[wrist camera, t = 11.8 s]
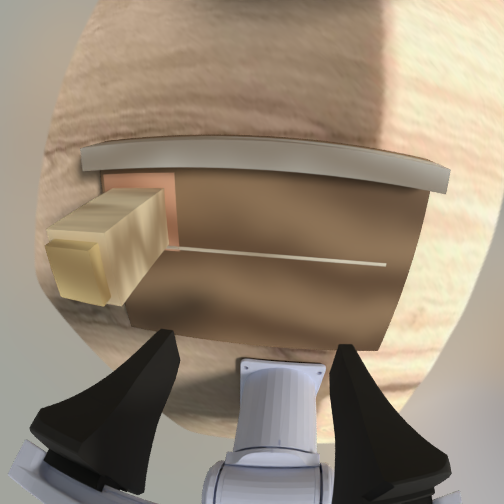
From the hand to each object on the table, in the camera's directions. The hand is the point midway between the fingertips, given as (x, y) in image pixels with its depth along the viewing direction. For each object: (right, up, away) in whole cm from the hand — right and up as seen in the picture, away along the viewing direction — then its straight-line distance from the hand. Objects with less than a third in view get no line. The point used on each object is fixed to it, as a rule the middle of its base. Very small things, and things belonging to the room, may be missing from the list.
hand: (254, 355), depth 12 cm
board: (0, +4, +8) cm, 9 cm away
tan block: (-8, +7, +7) cm, 12 cm away
